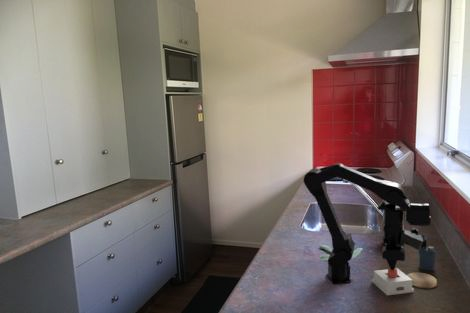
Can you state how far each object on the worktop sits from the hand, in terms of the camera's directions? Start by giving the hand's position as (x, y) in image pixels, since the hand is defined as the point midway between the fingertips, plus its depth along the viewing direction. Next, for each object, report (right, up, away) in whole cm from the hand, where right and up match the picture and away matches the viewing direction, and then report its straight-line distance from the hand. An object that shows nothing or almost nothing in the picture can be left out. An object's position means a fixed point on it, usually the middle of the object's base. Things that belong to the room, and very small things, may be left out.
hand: (392, 269), depth 120 cm
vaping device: (+17, -4, +12) cm, 22 cm away
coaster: (+11, -5, +3) cm, 13 cm away
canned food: (+15, 0, +35) cm, 38 cm away
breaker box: (0, -6, +1) cm, 6 cm away
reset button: (0, -4, +1) cm, 5 cm away
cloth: (-9, -3, +31) cm, 32 cm away
